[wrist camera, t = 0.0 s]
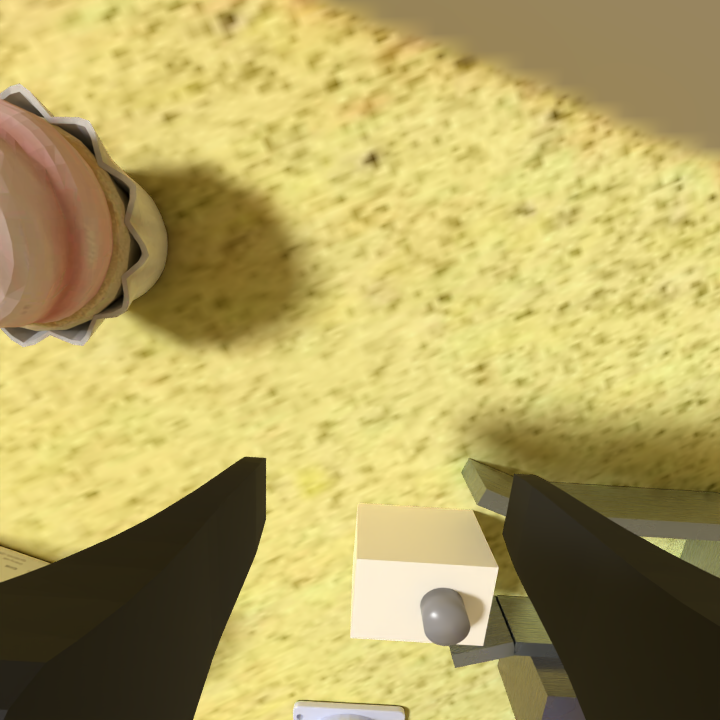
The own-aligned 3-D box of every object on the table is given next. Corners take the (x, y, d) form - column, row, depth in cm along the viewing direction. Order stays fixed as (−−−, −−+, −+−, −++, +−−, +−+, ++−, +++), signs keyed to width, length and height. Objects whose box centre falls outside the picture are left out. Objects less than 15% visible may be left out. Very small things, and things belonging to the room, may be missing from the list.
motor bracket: (657, 675, 25) (750, 803, 19) (432, 662, 25) (454, 787, 19) (729, 475, 21) (875, 556, 15) (463, 458, 21) (503, 534, 15)
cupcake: (239, 229, 18) (96, 184, 8) (135, 362, 20) (-83, 453, 10) (77, 84, 17) (-327, -177, 7) (-20, 242, 18) (-452, 213, 9)
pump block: (460, 575, 23) (491, 670, 18) (352, 568, 23) (349, 662, 18) (471, 508, 22) (508, 588, 17) (358, 501, 22) (356, 579, 16)
